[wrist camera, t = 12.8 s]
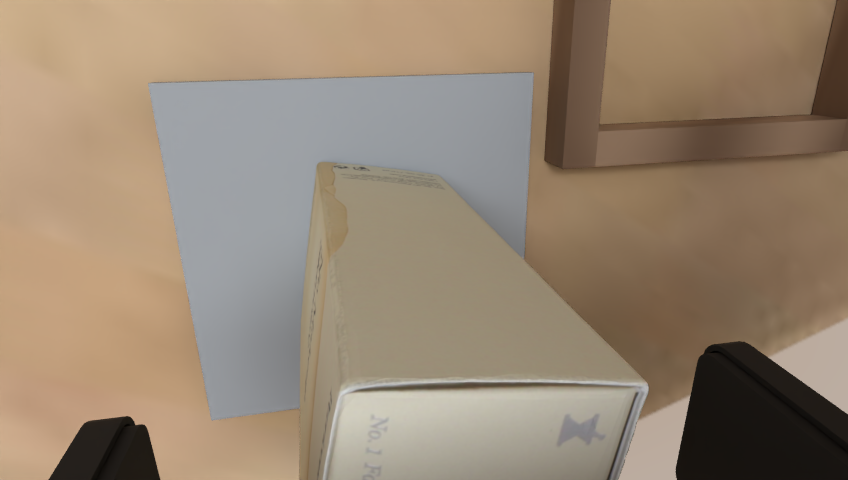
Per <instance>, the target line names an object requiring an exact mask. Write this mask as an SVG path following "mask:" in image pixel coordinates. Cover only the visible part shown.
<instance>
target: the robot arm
mask: <svg viewBox="0 0 848 480" xmlns="http://www.w3.org/2000/svg"><path fill="white" fill-rule="evenodd" d="M676 478H677V480H848V414H846V413H845V412H844V411H842V410H841V409H839V408H838V407H836V406H835V405H834V404H832V403H831V402H830V401H828V400H827V399H825V398H824V397H823V396H821V395H820V394H818V393H817V392H816V391H814V390H813V389H811V388H810V387H808V386H807V385H806V384H804V383H803V382H802V381H800V380H799V379H797V378H796V377H795V376H793V375H792V374H790V373H789V372H787V371H786V370H785V369H783V368H782V367H780V366H779V365H778V364H776V363H775V362H773V361H772V360H771V359H769V358H768V357H766V356H765V355H764V354H762V353H761V352H759V351H758V350H757V349H755V348H754V347H752V346H751V345H749V344H747V343H745V342H740V341H739V342H730V343H722V344H714V345H711V346H708V348H707V349H706V350H705V352H704V354H703V355H701V356H700V357H699V359H698V362H697V367H696V372H695V377H694V381H693V386H692V391H691V396H690V401H689V406H688V411H687V416H686V421H685V426H684V431H683V436H682V441H681V445H680V450H679V455H678V460H677V465H676ZM49 480H160V477H159V473H158V469H157V465H156V461H155V457H154V453H153V449H152V445H151V441H150V437H149V433H148V430H147V428H146V426H145V425H143V424H141V425H135V423H134V421H133V419H132V418H131V417H128V416H126V417H118V418H109V419H101V420H93V421H88V422H86V423H84V425H83V426H82V427H81V428H80V430H79V432H78V433H77V435H76V436H75V438H74V440H73V441H72V443H71V444H70V446H69V448H68V449H67V451H66V453H65V454H64V456H63V457H62V459H61V461H60V462H59V464H58V465H57V467H56V469H55V470H54V472H53V474H52V475H51V477H50V478H49Z"/></svg>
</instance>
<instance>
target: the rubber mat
mask: <svg viewBox="0 0 848 480" xmlns="http://www.w3.org/2000/svg"><path fill="white" fill-rule="evenodd" d="M533 78H534V73H531V72H517V73H481V74H445V75H408V76H372V77H336V78H300V79H263V80H227V81H191V82H154V83H148V86H149V91H150V96H151V102H152V107H153V112H154V118H155V123H156V128H157V133H158V139H159V144H160V149H161V155H162V160H163V165H164V171H165V176H166V181H167V187H168V192H169V197H170V203H171V208H172V213H173V219H174V224H175V229H176V234H177V240H178V245H179V250H180V256H181V261H182V266H183V272H184V277H185V282H186V288H187V293H188V298H189V304H190V309H191V314H192V319H193V325H194V330H195V335H196V341H197V346H198V351H199V357H200V362H201V367H202V373H203V378H204V383H205V389H206V394H207V399H208V405H209V410H210V415H211V420H218V419H226V418H233V417H240V416H247V415H255V414H262V413H269V412H276V411H284V410H291V409H298V408H300V338H301V313H302V301H303V289H304V278H305V267H306V256H307V246H308V237H309V227H310V218H311V209H312V201H313V193H314V185H315V176H316V166H317V164H318V163H319V162H332V163H343V164H356V165H366V166H375V167H382V168H391V169H399V170H407V171H414V172H421V173H428V174H436V175H439V176H440V177H442V178H443V179H444V180H445V181H446V182H447V183H448V184H449V185H450V186H451V187H452V188H453V189H454V190H455V191H456V192H457V193H458V194H459V195H460V196H461V197H462V198H463V199H464V200H465V201H466V203H467V204H468V205H469V206H470V207H471V208H472V209H473V210H474V211H475V212H477V213H478V214H479V215H480V216H481V217H482V218H483V219H484V220H485V221H486V222H487V223H488V224H489V225H490V226H491V227H492V228H493V229H494V230H495V231H496V232H497V233H498V234H499V235H500V236H501V237H502V238H503V239H504V240H505V241H506V243H507V244H508V245H509V246H510V247H511V248H512V249H513V250H514V251H515V252H516V253H518V254H519V255H520V256H521V257H522V258H523V259H524V254H525V235H526V215H527V196H528V176H529V156H530V137H531V117H532V98H533Z"/></svg>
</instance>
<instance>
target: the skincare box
mask: <svg viewBox="0 0 848 480" xmlns="http://www.w3.org/2000/svg"><path fill="white" fill-rule="evenodd" d="M648 391H649V386H648V383H647V382H646V381H645V380H644V379H643V378H642V377H641V376H640V375H639V374H638V373H637V372H636V371H635V370H634V369H633V368H632V367H631V366H630V365H629V364H628V363H627V362H626V361H625V360H624V359H623V358H622V357H621V356H620V355H619V354H618V353H617V352H616V351H615V350H614V349H613V348H612V347H611V346H610V345H609V344H608V343H607V342H606V341H605V340H604V339H603V338H602V337H601V336H600V335H599V334H598V333H597V332H596V331H595V330H594V329H593V328H592V327H591V326H589V325H588V324H587V323H586V322H585V321H584V320H583V318H582V317H581V316H580V315H579V314H577V313H576V312H575V311H574V310H573V309H572V308H571V307H570V306H569V304H568V303H567V302H565V301H564V300H563V299H562V298H561V297H560V296H559V294H558V293H557V292H556V291H555V290H554V289H553V288H552V287H551V286H550V285H549V284H548V283H547V282H546V281H545V280H544V279H543V278H542V277H541V276H540V275H539V274H538V273H537V272H536V271H535V270H534V269H533V268H532V267H531V266H530V265H529V264H528V263H527V262H526V261H525V260H524V259H523V258H522V257H521V256H520V255H519V254H518V253H516V252H515V251H514V250H513V249H512V248H511V247H510V246H509V245H508V244H507V243H506V241H505V240H504V239H503V238H502V237H501V236H500V235H499V234H498V233H497V232H496V231H495V230H494V229H493V228H492V227H491V226H490V225H489V224H488V223H487V222H486V221H485V220H484V219H483V218H482V217H481V216H480V215H479V214H478V213H477V212H475V211H474V210H473V209H472V208H471V207H470V206H469V205H468V204H467V203H466V201H465V200H464V199H463V198H462V197H461V196H460V195H459V194H458V193H457V192H456V191H455V190H454V189H453V188H452V187H451V186H450V185H449V184H448V183H447V182H446V181H445V180H444V179H443V178H442V177H440V176H439V175H436V174H428V173H421V172H414V171H407V170H399V169H391V168H382V167H375V166H366V165H356V164H343V163H332V162H319V163H318V164H317V166H316V176H315V185H314V193H313V201H312V209H311V218H310V227H309V237H308V246H307V256H306V267H305V278H304V289H303V301H302V313H301V338H300V460H299V480H618V479H619V476H620V474H621V471H622V468H623V465H624V462H625V457H626V455H627V453H628V450H629V446H630V443H631V440H632V437H633V435H634V431H635V428H636V424H637V420H638V418H639V416H640V413H641V410H642V408H643V405H644V402H645V400H646V397H647V395H648Z"/></svg>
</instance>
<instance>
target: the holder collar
mask: <svg viewBox="0 0 848 480" xmlns="http://www.w3.org/2000/svg"><path fill="white" fill-rule="evenodd" d="M610 4H611V0H554V13H553V29H552V46H551V62H550V79H549V95H548V111H547V128H546V144H545V161H547V162H549V163H551V164H553V165H555V166H557V167H560V168H562V169H569V168H585V167H601V166H616V165H632V164H648V163H664V162H679V161H695V160H711V159H727V158H742V157H758V156H774V155H790V154H806V153H821V152H837V151H848V0H838V1H837V5H836V9H835V14H834V18H833V23H832V27H831V31H830V36H829V40H828V45H827V49H826V53H825V58H824V62H823V66H822V71H821V75H820V80H819V84H818V88H817V93H816V97H815V101H814V106H813V110H812V115H792V116H771V117H750V118H729V119H709V120H688V121H667V122H646V123H625V124H604V125H599V121H600V110H601V99H602V89H603V78H604V68H605V57H606V47H607V36H608V25H609V15H610Z"/></svg>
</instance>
